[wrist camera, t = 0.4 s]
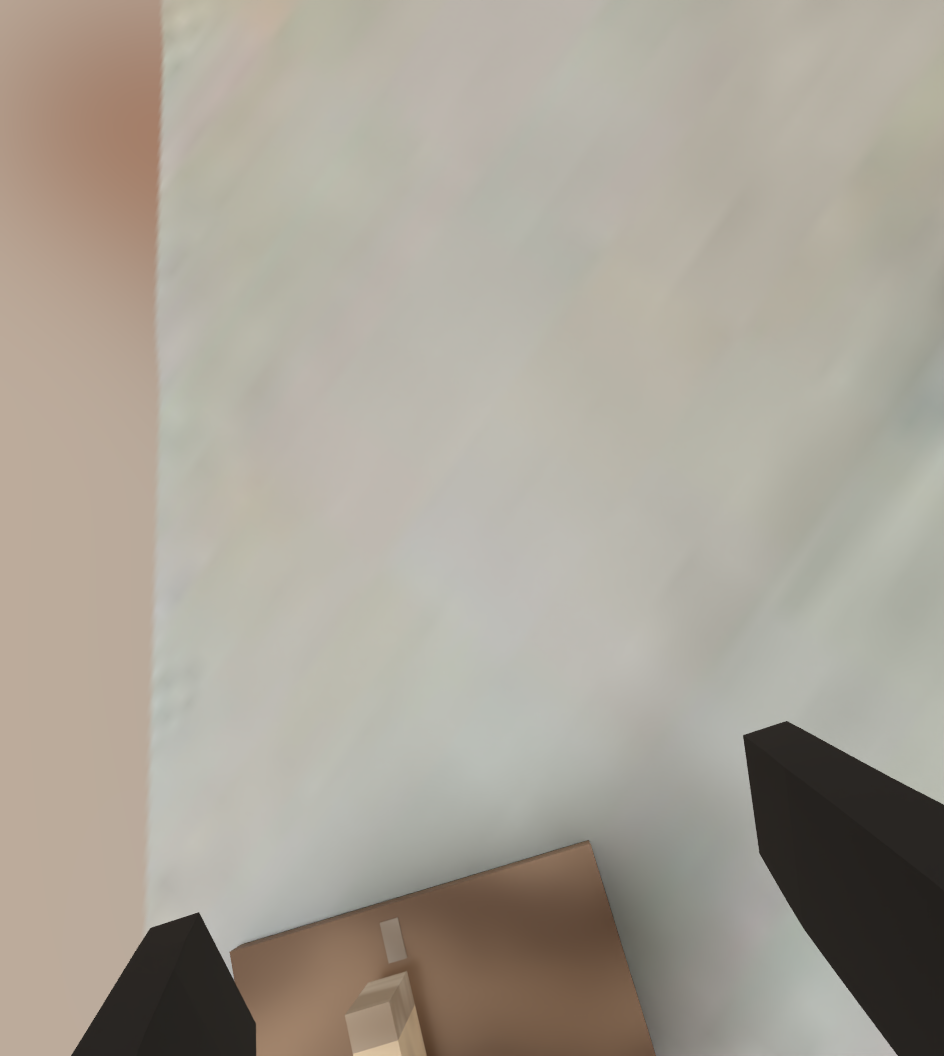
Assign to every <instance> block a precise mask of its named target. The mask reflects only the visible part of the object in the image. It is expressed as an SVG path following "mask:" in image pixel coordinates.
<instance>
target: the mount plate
mask: <svg viewBox="0 0 944 1056" xmlns="http://www.w3.org/2000/svg"><path fill="white" fill-rule="evenodd" d="M230 957H231V963H232V968H233V974H234V980H235V984H236V986H237V987H238V989H239V991H240V993H241V995H242V997H243V999H244V1001H245V1003H246V1005H247V1007H248V1009H249V1011H250V1013H251V1015H252V1017H253V1019H254V1021H255V1023H256V1056H353V1052H352V1048H351V1043H350V1038H349V1033H348V1028H347V1023H346V1019H345V1014H346V1013H347V1011H348V1010H349V1008H350V1007H351V1006H352V1004H353V1003H354V1002H355V1000H356V999H357V997H358V996H359V995H360V993H361V992H362V990H363V989H364V988H365V986H366V985H367V983H369V982H372V981H375V980H379V979H382V978H385V977H389V976H392V975H395V974H399V973H402V972H405V971H407V973H408V977H409V981H410V985H411V990H412V994H413V998H414V1003H415V1007H416V1011H417V1016H418V1020H419V1024H420V1029H421V1033H422V1037H423V1042H424V1046H425V1050H426V1054H427V1056H656V1055H655V1051H654V1048H653V1045H652V1042H651V1038H650V1035H649V1032H648V1029H647V1025H646V1022H645V1019H644V1016H643V1012H642V1009H641V1006H640V1003H639V1000H638V996H637V993H636V990H635V987H634V983H633V980H632V977H631V974H630V970H629V967H628V964H627V961H626V957H625V954H624V951H623V948H622V945H621V941H620V938H619V935H618V932H617V928H616V925H615V922H614V919H613V915H612V912H611V909H610V906H609V902H608V899H607V896H606V893H605V890H604V886H603V883H602V880H601V877H600V873H599V870H598V867H597V864H596V860H595V857H594V854H593V851H592V847H591V844H590V842H589V840H588V841H584V842H581V843H578V844H574V845H571V846H568V847H565V848H561V849H558V850H555V851H551V852H548V853H545V854H541V855H538V856H535V857H531V858H528V859H525V860H521V861H518V862H515V863H511V864H508V865H505V866H501V867H498V868H495V869H491V870H488V871H485V872H481V873H478V874H475V875H472V876H468V877H465V878H462V879H458V880H455V881H452V882H448V883H445V884H442V885H438V886H435V887H432V888H428V889H425V890H422V891H418V892H415V893H412V894H408V895H405V896H402V897H398V898H395V899H392V900H388V901H385V902H382V903H379V904H375V905H372V906H369V907H365V908H362V909H359V910H355V911H352V912H349V913H345V914H342V915H339V916H335V917H332V918H329V919H325V920H322V921H319V922H315V923H312V924H309V925H305V926H302V927H299V928H295V929H292V930H289V931H286V932H282V933H279V934H276V935H272V936H269V937H266V938H262V939H259V940H256V941H252V942H249V943H246V944H242V945H240V946H238V947H237V948H235V949H234V950H232V951H231V952H230Z"/></svg>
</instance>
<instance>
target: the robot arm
mask: <svg viewBox="0 0 944 1056" xmlns="http://www.w3.org/2000/svg"><path fill="white" fill-rule="evenodd" d="M743 738H744V745H745V752H746V759H747V767H748V774H749V781H750V788H751V795H752V802H753V810H754V817H755V824H756V831H757V838H758V845H759V853H760V855H761V857H762V859H763V860H764V862H765V864H766V866H767V867H768V869H769V871H770V872H771V874H772V876H773V878H774V879H775V881H776V883H777V885H778V886H779V888H780V890H781V892H782V893H783V895H784V897H785V898H786V900H787V902H788V903H789V905H790V907H791V908H792V910H793V912H794V913H795V915H796V917H797V918H798V920H799V922H800V923H801V925H802V927H803V928H804V930H805V931H806V932H807V934H808V935H809V936H810V938H811V939H812V941H813V942H814V943H815V945H816V946H817V948H818V949H819V950H820V952H821V953H822V954H823V956H824V957H825V958H826V960H827V961H828V962H829V964H830V965H831V967H832V968H833V969H834V971H835V972H836V973H837V975H838V976H839V977H840V979H841V980H842V981H843V983H844V984H845V985H846V987H847V988H848V990H849V991H850V992H851V994H852V995H853V996H854V998H855V999H856V1000H857V1002H858V1003H859V1004H860V1006H861V1007H862V1008H863V1010H864V1011H865V1012H866V1014H867V1015H868V1016H869V1018H870V1019H871V1020H872V1022H873V1023H874V1024H875V1026H876V1027H877V1028H878V1030H879V1031H880V1032H881V1034H882V1035H883V1036H884V1038H885V1039H886V1040H887V1042H888V1043H889V1044H890V1046H891V1047H892V1049H893V1050H894V1051H895V1053H896V1054H897V1055H898V1056H944V805H943V804H941V803H939V802H938V801H936V800H934V799H932V798H930V797H928V796H926V795H924V794H922V793H920V792H918V791H916V790H914V789H912V788H910V787H908V786H906V785H904V784H902V783H901V782H899V781H897V780H895V779H893V778H891V777H889V776H887V775H885V774H884V773H882V772H880V771H878V770H876V769H874V768H872V767H871V766H869V765H867V764H865V763H863V762H861V761H859V760H858V759H856V758H854V757H852V756H850V755H848V754H847V753H845V752H843V751H841V750H839V749H837V748H836V747H834V746H832V745H830V744H828V743H826V742H825V741H823V740H821V739H819V738H817V737H816V736H814V735H812V734H810V733H808V732H806V731H804V730H803V729H801V728H799V727H797V726H795V725H793V724H791V723H789V722H788V721H786V722H782V723H779V724H776V725H773V726H770V727H767V728H764V729H761V730H758V731H755V732H752V733H749V734H746V735H743ZM71 1056H256V1023H255V1021H254V1019H253V1017H252V1015H251V1013H250V1011H249V1009H248V1007H247V1005H246V1003H245V1001H244V999H243V997H242V995H241V993H240V991H239V989H238V987H237V986H236V984H235V982H234V980H233V978H232V976H231V974H230V972H229V970H228V968H227V966H226V964H225V962H224V960H223V958H222V956H221V954H220V952H219V951H218V949H217V947H216V945H215V943H214V941H213V939H212V937H211V935H210V933H209V931H208V929H207V927H206V925H205V923H204V921H203V919H202V917H201V915H200V914H199V912H198V913H195V914H192V915H189V916H186V917H183V918H180V919H177V920H174V921H171V922H168V923H165V924H162V925H158V926H155V927H152V928H150V930H149V931H148V933H147V934H146V936H145V937H144V939H143V940H142V942H141V943H140V945H139V947H138V948H137V950H136V951H135V953H134V955H133V956H132V958H131V959H130V961H129V963H128V964H127V966H126V968H125V969H124V971H123V973H122V974H121V976H120V977H119V979H118V981H117V983H116V984H115V986H114V987H113V989H112V990H111V992H110V994H109V995H108V997H107V999H106V1000H105V1002H104V1004H103V1005H102V1007H101V1009H100V1010H99V1012H98V1013H97V1015H96V1017H95V1018H94V1020H93V1021H92V1023H91V1025H90V1026H89V1028H88V1030H87V1031H86V1033H85V1034H84V1036H83V1038H82V1040H81V1041H80V1042H79V1044H78V1046H77V1047H76V1049H75V1051H74V1052H73V1054H72V1055H71Z"/></svg>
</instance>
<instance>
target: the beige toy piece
mask: <svg viewBox="0 0 944 1056" xmlns="http://www.w3.org/2000/svg"><path fill="white" fill-rule="evenodd" d="M345 1019H346V1023H347V1028H348V1033H349V1038H350V1043H351V1048H352V1052H353V1056H427V1054H426V1050H425V1046H424V1042H423V1037H422V1033H421V1029H420V1024H419V1020H418V1016H417V1011H416V1007H415V1003H414V998H413V994H412V990H411V985H410V981H409V977H408V973H407V971H405V972H402V973H399V974H395V975H392V976H389V977H385V978H382V979H379V980H375V981H372V982H369V983H367V985H366V986H365V988H364V989H363V990H362V992H361V993H360V995H359V996H358V997H357V999H356V1000H355V1002H354V1003H353V1004H352V1006H351V1007H350V1008H349V1010H348V1011H347V1013H346V1014H345Z"/></svg>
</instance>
